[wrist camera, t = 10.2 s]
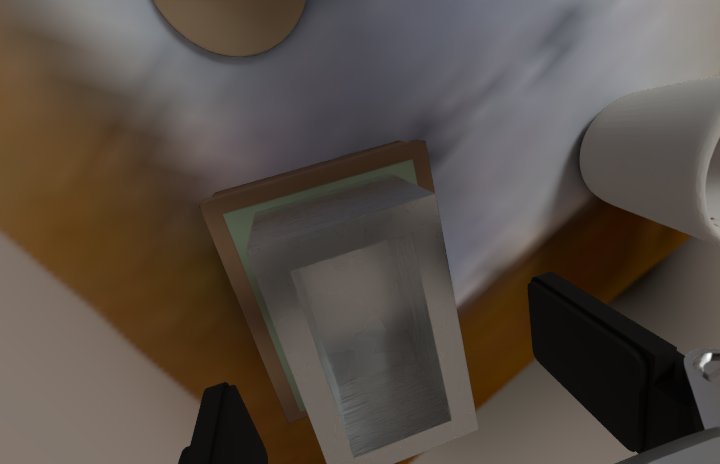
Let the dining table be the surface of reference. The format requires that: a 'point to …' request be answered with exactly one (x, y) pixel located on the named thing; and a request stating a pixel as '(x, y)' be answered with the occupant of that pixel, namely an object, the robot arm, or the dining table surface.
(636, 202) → the cup
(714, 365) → the robot arm
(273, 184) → the stand
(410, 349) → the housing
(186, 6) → the coaster
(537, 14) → the dining table surface
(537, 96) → the dining table surface
